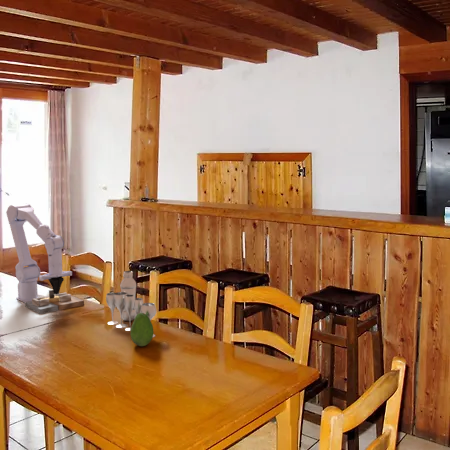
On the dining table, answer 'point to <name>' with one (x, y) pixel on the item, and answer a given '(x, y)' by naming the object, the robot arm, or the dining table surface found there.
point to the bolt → (52, 297)
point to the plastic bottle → (128, 293)
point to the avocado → (142, 330)
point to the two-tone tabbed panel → (53, 303)
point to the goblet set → (128, 307)
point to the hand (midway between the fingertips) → (56, 293)
